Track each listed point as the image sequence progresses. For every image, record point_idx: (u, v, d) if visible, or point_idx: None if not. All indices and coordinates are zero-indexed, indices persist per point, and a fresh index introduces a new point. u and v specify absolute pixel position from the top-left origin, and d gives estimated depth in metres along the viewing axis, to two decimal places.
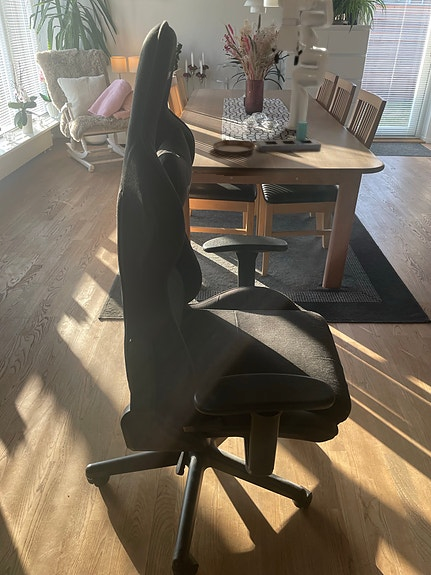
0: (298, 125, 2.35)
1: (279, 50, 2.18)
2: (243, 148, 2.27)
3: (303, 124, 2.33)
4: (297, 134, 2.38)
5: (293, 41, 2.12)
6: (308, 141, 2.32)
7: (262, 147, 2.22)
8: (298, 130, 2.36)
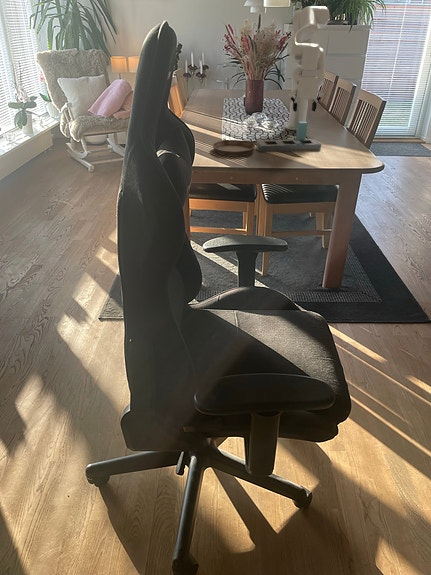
0: (298, 125, 2.35)
1: (312, 98, 2.29)
2: (243, 148, 2.27)
3: (303, 124, 2.33)
4: (297, 134, 2.38)
5: None
6: (308, 141, 2.32)
7: (262, 147, 2.22)
8: (298, 130, 2.36)
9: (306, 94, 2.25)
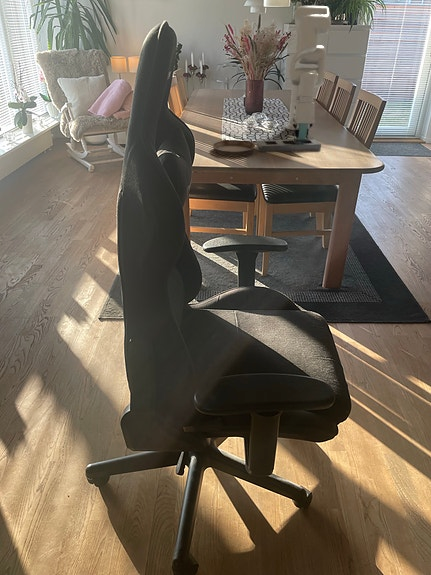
0: None
1: None
2: (243, 148, 2.27)
3: (303, 124, 2.33)
4: None
5: None
6: (308, 141, 2.32)
7: (262, 147, 2.22)
8: None
9: (303, 119, 2.31)
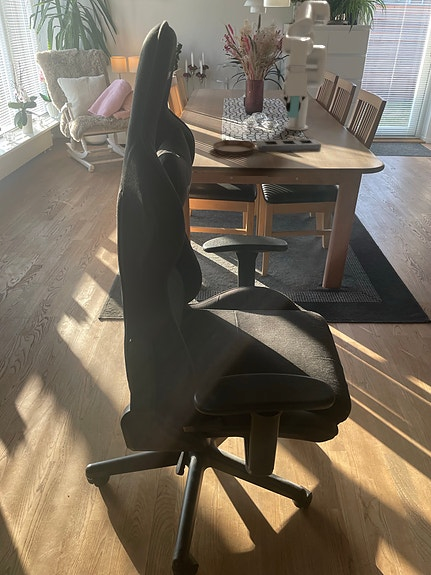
0: None
1: None
2: (243, 148, 2.27)
3: (295, 96, 2.15)
4: None
5: None
6: (308, 141, 2.32)
7: (262, 147, 2.22)
8: None
9: (295, 91, 2.13)
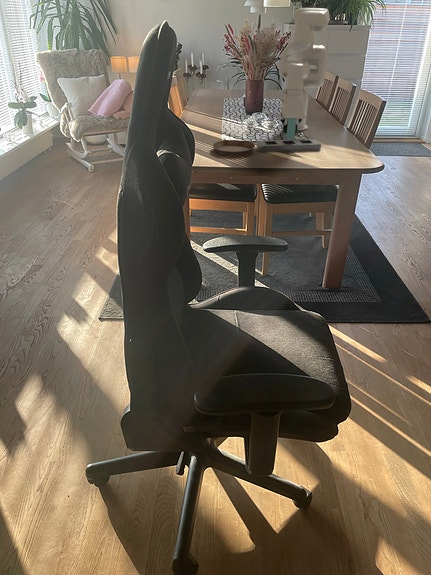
0: None
1: None
2: (243, 148, 2.27)
3: (291, 119, 2.20)
4: None
5: None
6: (308, 141, 2.32)
7: (262, 147, 2.22)
8: None
9: (292, 114, 2.18)
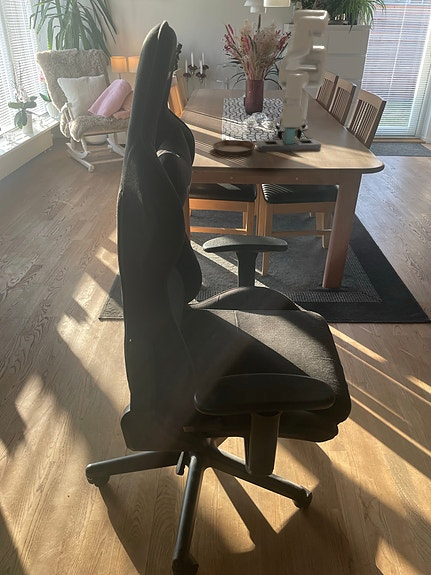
0: (285, 131, 2.25)
1: None
2: (243, 148, 2.27)
3: (291, 130, 2.23)
4: (285, 140, 2.27)
5: None
6: (308, 141, 2.32)
7: (262, 147, 2.22)
8: (285, 136, 2.25)
9: (291, 123, 2.20)
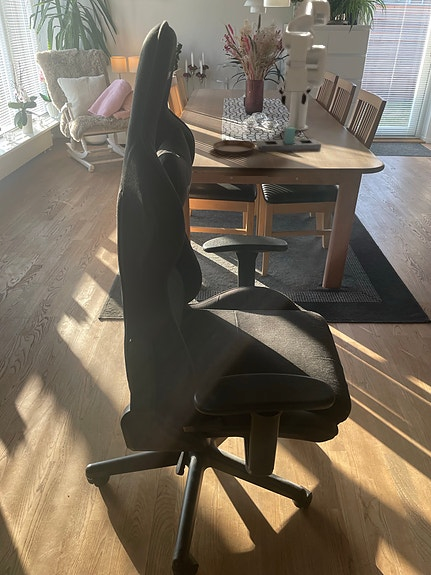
0: (285, 131, 2.25)
1: None
2: (243, 148, 2.27)
3: (291, 130, 2.23)
4: (285, 140, 2.27)
5: None
6: (308, 141, 2.32)
7: (262, 147, 2.22)
8: (285, 136, 2.25)
9: (295, 87, 2.13)
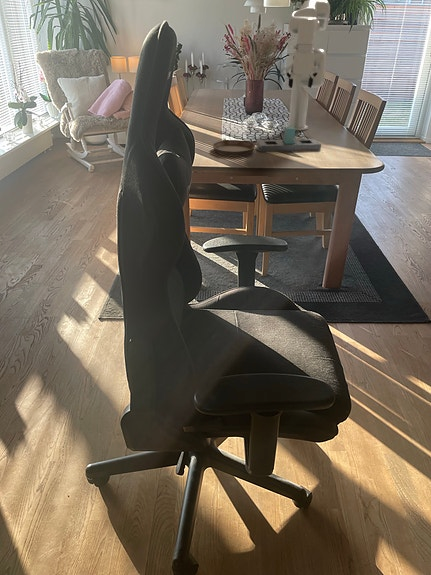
0: (285, 131, 2.25)
1: None
2: (243, 148, 2.27)
3: (291, 130, 2.23)
4: (285, 140, 2.27)
5: None
6: (308, 141, 2.32)
7: (262, 147, 2.22)
8: (285, 136, 2.25)
9: (302, 70, 2.19)
